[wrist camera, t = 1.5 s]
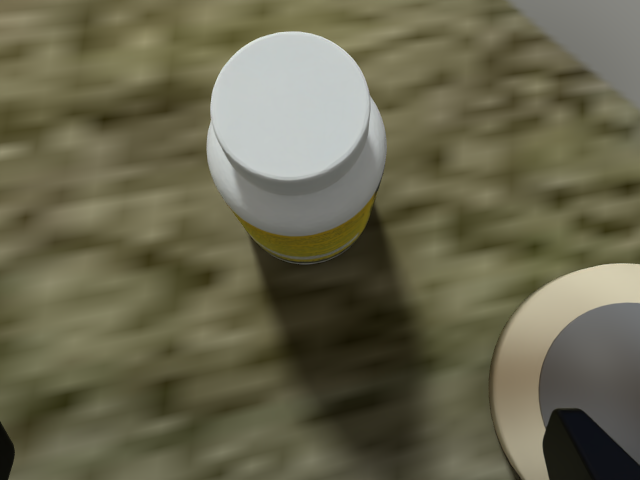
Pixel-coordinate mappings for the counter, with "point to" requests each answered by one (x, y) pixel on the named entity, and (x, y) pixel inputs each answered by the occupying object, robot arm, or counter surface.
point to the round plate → (569, 363)
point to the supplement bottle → (296, 145)
